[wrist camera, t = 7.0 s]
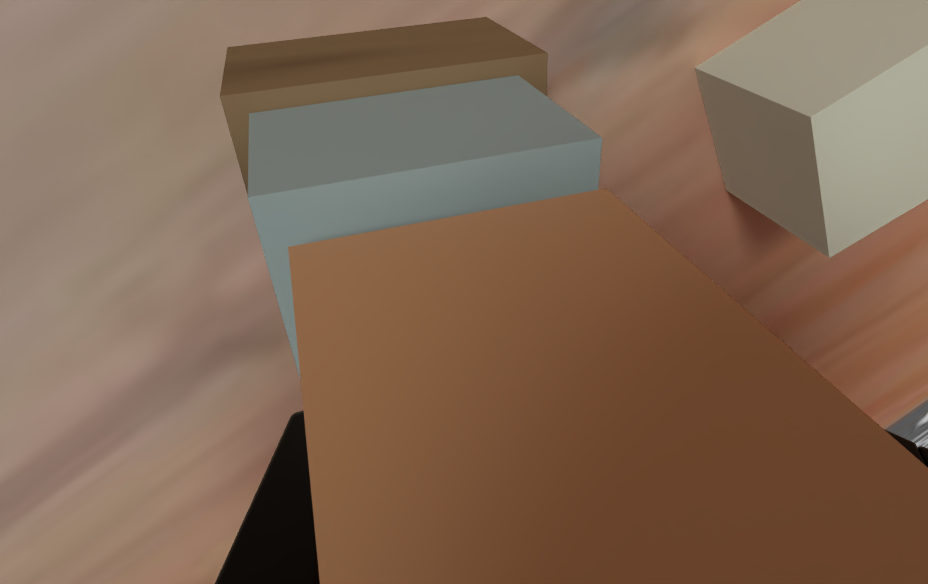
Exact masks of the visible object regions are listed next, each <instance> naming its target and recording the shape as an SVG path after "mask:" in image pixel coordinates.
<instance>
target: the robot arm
mask: <svg viewBox="0 0 928 584" xmlns="http://www.w3.org/2000/svg"><path fill="white" fill-rule="evenodd" d="M884 430H885V429H884ZM885 431H886V432H887V433H889V434H890V435H891V436H892V437H893V438H894V439H895V440H897V441H898V442H899V443H900V444H901V445H902V446H903V447H905V448H906V449H907V450H908V451H909V452H910V453H912V454H913V455H914V456H915V457H916V458H917V459H918V460H920V461H921V462H922V463H923V464H924V465H925V466H927V467H928V449H927V448H925V447H922V446H920V447H918V448H917V446H916V444H915V443H913V442H911V441H909V440H907V439H905V438H903V437H900V436H898V435H896V434H894V433H892V432H889V431H887V430H885ZM215 584H320V580H319V569H318V558H317V548H316V537H315V527H314V516H313V506H312V495H311V484H310V474H309V463H308V453H307V442H306V431H305V421H304V411H300V412H296V413H294V414H293V415H292V416H291V418H290V420H289V422H288V424H287V426H286V428H285V430H284V433H283V435H282V437H281V439H280V441H279V444H278V446H277V448H276V450H275V452H274V455H273V457H272V459H271V461H270V463H269V466H268V468H267V470H266V472H265V474H264V477H263V479H262V481H261V483H260V485H259V488H258V490H257V492H256V494H255V496H254V499H253V501H252V503H251V505H250V507H249V510H248V512H247V514H246V516H245V518H244V521H243V523H242V525H241V527H240V529H239V532H238V534H237V536H236V538H235V540H234V543H233V545H232V547H231V549H230V551H229V554H228V556H227V558H226V560H225V562H224V565H223V567H222V569H221V571H220V573H219V576H218V578H217V580H216V582H215Z"/></svg>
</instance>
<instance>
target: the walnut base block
mask: <svg viewBox="0 0 928 584" xmlns="http://www.w3.org/2000/svg"><path fill="white" fill-rule="evenodd" d="M547 58H548V53H547V52H545V51H543V50H542V49H540V48H538V47H537V46H535V45H533V44H531V43H530V42H528V41H526V40H525V39H523V38H521V37H520V36H518V35H516V34H514V33H513V32H511V31H509V30H508V29H506V28H504V27H502V26H501V25H499V24H497V23H496V22H494V21H492V20H491V19H489V18H487V17H483V18H474V19H466V20H457V21H449V22H440V23H432V24H423V25H414V26H406V27H397V28H389V29H380V30H372V31H363V32H355V33H346V34H337V35H329V36H320V37H312V38H303V39H295V40H286V41H278V42H269V43H260V44H252V45H243V46H235V47H228V48H227V55H226V61H225V67H224V73H223V80H222V86H221V92H220V98H221V102H222V105H223V109H224V112H225V116H226V119H227V123H228V127H229V130H230V134H231V137H232V141H233V144H234V148H235V151H236V155H237V158H238V162H239V165H240V169H241V172H242V176H243V179H244V183H245V187H246V190H247V194H248V149H249V113H256V112H263V111H270V110H277V109H284V108H291V107H298V106H305V105H312V104H319V103H326V102H333V101H340V100H347V99H354V98H361V97H368V96H375V95H383V94H390V93H397V92H404V91H411V90H418V89H425V88H432V87H439V86H446V85H453V84H460V83H467V82H474V81H481V80H488V79H495V78H502V77H509V76H516V75H519V76H520V77H521V78H523V79H524V80H525V81H527V82H528V83H529V84H531V85H532V86H533V87H535V88H536V89H537V90H539V91H540V92H542V93H543V94H544V95H546V96H547Z"/></svg>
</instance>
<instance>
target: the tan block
mask: <svg viewBox="0 0 928 584" xmlns="http://www.w3.org/2000/svg"><path fill="white" fill-rule="evenodd" d="M288 252H289V262H290V273H291V283H292V294H293V304H294V315H295V326H296V336H297V347H298V357H299V368H300V379H301V389H302V400H303V410H304V421H305V431H306V442H307V453H308V463H309V474H310V484H311V495H312V506H313V516H314V527H315V537H316V548H317V558H318V569H319V580H320V584H928V467H927V466H925V465H924V464H923V463H922V462H921V461H920V460H918V459H917V458H916V457H915V456H914V455H913V454H912V453H910V452H909V451H908V450H907V449H906V448H905V447H903V446H902V445H901V444H900V443H899V442H898V441H897V440H895V439H894V438H893V437H892V436H891V435H890V434H889V433H887V432H886V431H885V430H884V429H883V428H882V427H880V426H879V425H878V424H877V423H876V422H875V421H874V420H872V419H871V418H870V417H869V416H868V415H867V414H865V413H864V412H863V411H862V410H861V409H860V408H859V407H857V406H856V405H855V404H854V403H853V402H852V401H850V400H849V399H848V398H847V397H846V396H845V395H844V394H842V393H841V392H840V391H839V390H838V389H837V388H836V387H834V386H833V385H832V384H831V383H830V382H829V381H827V380H826V379H825V378H824V377H823V376H822V375H821V374H819V373H818V372H817V371H816V370H815V369H814V368H812V367H811V366H810V365H809V364H808V363H807V362H806V361H804V360H803V359H802V358H801V357H800V356H799V355H798V354H796V353H795V352H794V351H793V350H792V349H791V348H789V347H788V346H787V345H786V344H785V343H784V342H783V341H781V340H780V339H779V338H778V337H777V336H776V335H774V334H773V333H772V332H771V331H770V330H769V329H768V328H766V327H765V326H764V325H763V324H762V323H761V322H759V321H758V320H757V319H756V318H755V317H754V316H753V315H751V314H750V313H749V312H748V311H747V310H746V309H745V308H743V307H742V306H741V305H740V304H739V303H738V302H736V301H735V300H734V299H733V298H732V297H731V296H730V295H728V294H727V293H726V292H725V291H724V290H723V289H721V288H720V287H719V286H718V285H717V284H716V283H715V282H713V281H712V280H711V279H710V278H709V277H708V276H707V275H705V274H704V273H703V272H702V271H701V270H700V269H698V268H697V267H696V266H695V265H694V264H693V263H692V262H690V261H689V260H688V259H687V258H686V257H685V256H683V255H682V254H681V253H680V252H679V251H678V250H677V249H675V248H674V247H673V246H672V245H671V244H670V243H669V242H667V241H666V240H665V239H664V238H663V237H662V236H660V235H659V234H658V233H657V232H656V231H655V230H654V229H652V228H651V227H650V226H649V225H648V224H647V223H645V222H644V221H643V220H642V219H641V218H640V217H639V216H637V215H636V214H635V213H634V212H633V211H632V210H630V209H629V208H628V207H627V206H626V205H625V204H624V203H622V202H621V201H620V200H619V199H618V198H617V197H616V196H614V195H613V194H612V193H611V192H610V191H609V190H607V189H606V188H604V189H599V190H594V191H588V192H583V193H577V194H572V195H567V196H561V197H556V198H550V199H545V200H540V201H534V202H529V203H523V204H518V205H512V206H507V207H502V208H496V209H491V210H485V211H480V212H475V213H469V214H464V215H458V216H453V217H447V218H442V219H437V220H431V221H426V222H420V223H415V224H410V225H404V226H399V227H393V228H388V229H382V230H377V231H372V232H366V233H361V234H355V235H350V236H345V237H339V238H334V239H328V240H323V241H317V242H312V243H307V244H301V245H296V246H290V247H288Z"/></svg>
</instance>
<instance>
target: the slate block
mask: <svg viewBox="0 0 928 584" xmlns="http://www.w3.org/2000/svg"><path fill="white" fill-rule="evenodd" d="M601 147H602V137H600V136H599V135H598V134H596V133H595V132H594V131H592V130H591V129H590V128H588V127H587V126H586V125H584V124H583V123H582V122H580V121H579V120H578V119H576V118H575V117H574V116H572V115H571V114H570V113H568V112H567V111H566V110H564V109H563V108H562V107H560V106H559V105H558V104H556V103H555V102H554V101H552V100H551V99H550V98H548V97H547V96H546V95H544V94H543V93H542V92H540V91H539V90H537V89H536V88H535V87H533V86H532V85H531V84H529V83H528V82H527V81H525V80H524V79H523V78H521V77H520V76H519V75H516V76H509V77H502V78H495V79H488V80H481V81H474V82H467V83H460V84H453V85H446V86H439V87H432V88H425V89H418V90H411V91H404V92H397V93H390V94H383V95H375V96H368V97H361V98H354V99H347V100H340V101H333V102H326V103H319V104H312V105H305V106H298V107H291V108H284V109H277V110H270V111H263V112H256V113H249V149H248V200H249V203H250V207H251V210H252V214H253V217H254V221H255V224H256V228H257V231H258V234H259V238H260V241H261V245H262V248H263V252H264V255H265V259H266V262H267V266H268V269H269V273H270V276H271V280H272V283H273V286H274V290H275V293H276V297H277V300H278V304H279V307H280V311H281V314H282V318H283V321H284V325H285V328H286V331H287V335H288V338H289V342H290V345H291V349H292V352H293V356H294V359H295V363H296V366H297V370H298V373H299V377H300V368H299V357H298V347H297V336H296V326H295V315H294V304H293V294H292V283H291V273H290V262H289V252H288V247H290V246H296V245H301V244H307V243H312V242H317V241H323V240H328V239H334V238H339V237H345V236H350V235H355V234H361V233H366V232H372V231H377V230H382V229H388V228H393V227H399V226H404V225H410V224H415V223H420V222H426V221H431V220H437V219H442V218H447V217H453V216H458V215H464V214H469V213H475V212H480V211H485V210H491V209H496V208H502V207H507V206H512V205H518V204H523V203H529V202H534V201H540V200H545V199H550V198H556V197H561V196H567V195H572V194H577V193H583V192H588V191H594V190H598V185H599V172H600V160H601ZM300 380H301V379H300Z"/></svg>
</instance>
